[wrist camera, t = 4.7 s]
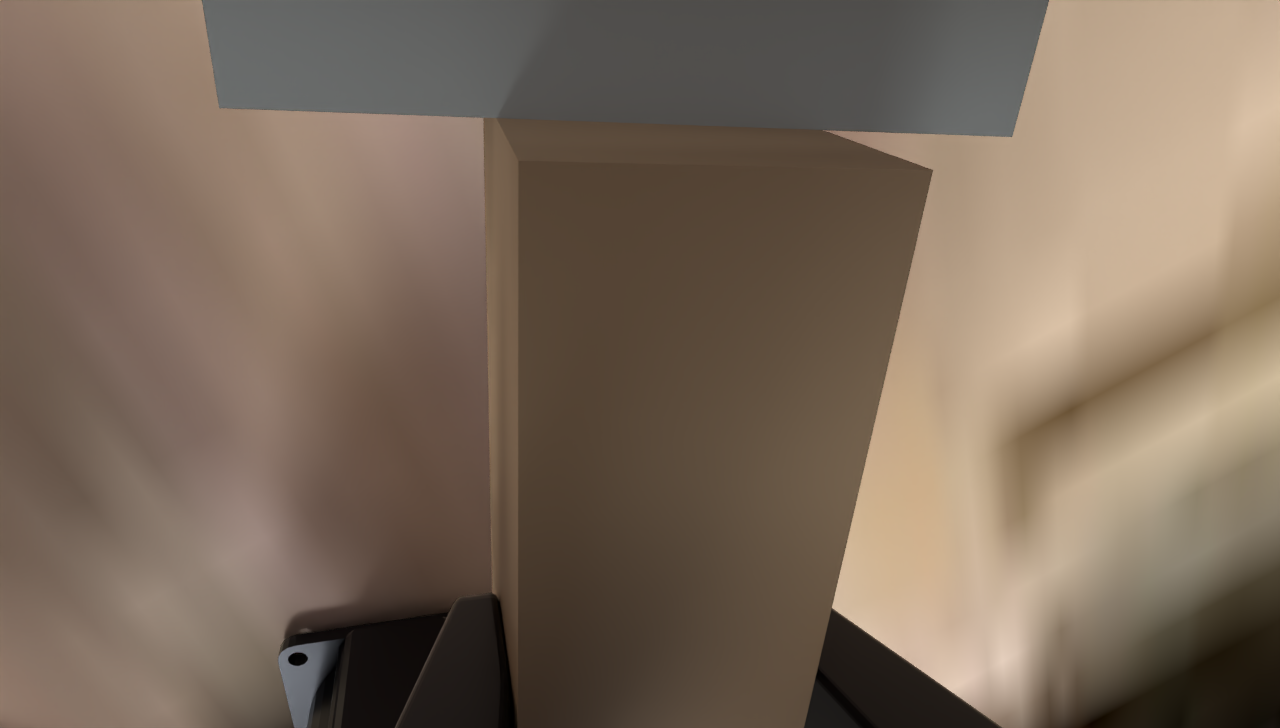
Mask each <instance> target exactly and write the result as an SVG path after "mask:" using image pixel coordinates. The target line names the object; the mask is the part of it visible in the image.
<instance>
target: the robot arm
mask: <svg viewBox="0 0 1280 728" xmlns="http://www.w3.org/2000/svg"><path fill="white" fill-rule="evenodd" d="M296 652H302V653H304V654H302V655H296V654H294V653H296ZM278 663H279V667H280V671H281V676H282V680H283V684H284V688H285V692H286V696H287V700H288V704H289V708H290V712H291V716H292V720H293V724H294V728H510V681H509V671H508V664H507V656H506V649H505V642H504V635H503V628H502V621H501V614H500V606H499V600H498V597H497V596H496V595H495V594H493V593H486V594H477V595H469V596H461V597H459V598H458V599H456V601H455V602H454V604H453V605H452V608H451V610H450V612H449V613H442V614H435V615H428V616H422V617H415V618H408V619H401V620H394V621H387V622H381V623H374V624H367V625H360V626H353V627H347V628H340V629H333V630H326V631H319V632H312V633H306V634H299V635H295V636H291V637H289V638H287V639H286V640H284V642H283V643H282V645H281V648H280V652H279V657H278ZM804 728H1002V727H1001V726H999V725H998V724H996V723H995V722H994V721H992V720H991V719H989V718H988V717H986V716H985V715H984V714H982V713H981V712H979V711H978V710H976V709H975V708H974V707H972V706H971V705H969V704H968V703H966V702H965V701H964V700H962V699H961V698H959V697H958V696H956V695H955V694H954V693H952V692H951V691H949V690H948V689H946V688H945V687H944V686H942V685H941V684H939V683H938V682H936V681H935V680H934V679H932V678H931V677H929V676H928V675H926V674H925V673H924V672H922V671H921V670H919V669H918V668H916V667H915V666H914V665H912V664H911V663H909V662H908V661H907V660H905V659H904V658H902V657H901V656H899V655H898V654H897V653H895V652H894V651H892V650H891V649H889V648H888V647H887V646H885V645H884V644H882V643H881V642H879V641H878V640H877V639H875V638H874V637H872V636H871V635H869V634H868V633H867V632H865V631H864V630H862V629H861V628H859V627H858V626H857V625H855V624H854V623H852V622H851V621H849V620H848V619H847V618H845V617H844V616H842V615H841V614H839V613H838V612H837V611H835V610H834V609H831V613H830V617H829V622H828V626H827V630H826V634H825V639H824V643H823V647H822V652H821V656H820V660H819V665H818V669H817V673H816V678H815V682H814V686H813V691H812V695H811V699H810V704H809V708H808V712H807V717H806V721H805V725H804Z"/></svg>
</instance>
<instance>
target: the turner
mask: <svg viewBox="0 0 1280 728" xmlns="http://www.w3.org/2000/svg"><path fill="white" fill-rule="evenodd" d="M1048 2H1049V0H202V3H203V9H204V15H205V22H206V28H207V34H208V40H209V47H210V53H211V59H212V65H213V72H214V78H215V84H216V90H217V97H218V103H219V108H233V109H260V110H288V111H315V112H342V113H370V114H397V115H425V116H452V117H480V118H483V121H484V176H485V232H486V288H487V343H488V399H489V455H490V510H491V566H492V593H493V594H495V595H496V596H497V597H498V600H499V606H500V614H501V621H502V628H503V635H504V642H505V649H506V656H507V664H508V671H509V681H510V728H804V725H805V721H806V717H807V712H808V708H809V704H810V699H811V695H812V691H813V686H814V682H815V678H816V673H817V669H818V665H819V660H820V656H821V652H822V647H823V643H824V639H825V634H826V630H827V626H828V622H829V617H830V613H831V609H832V604H833V600H834V596H835V591H836V587H837V583H838V578H839V574H840V570H841V565H842V561H843V557H844V552H845V548H846V544H847V539H848V535H849V531H850V526H851V522H852V518H853V513H854V509H855V505H856V500H857V496H858V492H859V487H860V483H861V479H862V474H863V470H864V466H865V462H866V457H867V453H868V449H869V444H870V440H871V436H872V431H873V427H874V423H875V418H876V414H877V410H878V405H879V401H880V397H881V392H882V388H883V384H884V379H885V375H886V371H887V366H888V362H889V358H890V353H891V349H892V345H893V340H894V336H895V332H896V327H897V323H898V319H899V314H900V310H901V306H902V302H903V297H904V293H905V289H906V284H907V280H908V276H909V271H910V267H911V263H912V258H913V254H914V250H915V245H916V241H917V237H918V232H919V228H920V224H921V219H922V215H923V211H924V206H925V202H926V198H927V193H928V189H929V185H930V180H931V176H932V172H933V170H931V169H928V168H925V167H923V166H920V165H917V164H914V163H912V162H909V161H906V160H903V159H900V158H898V157H895V156H892V155H889V154H887V153H884V152H881V151H878V150H876V149H873V148H870V147H867V146H865V145H862V144H859V143H856V142H854V141H851V140H848V139H845V138H843V137H840V136H837V135H834V134H832V133H829V132H826V131H823V130H836V131H864V132H891V133H918V134H946V135H973V136H1001V137H1012V135H1013V132H1014V128H1015V124H1016V120H1017V117H1018V113H1019V109H1020V106H1021V102H1022V98H1023V95H1024V91H1025V87H1026V83H1027V80H1028V76H1029V72H1030V69H1031V65H1032V61H1033V58H1034V54H1035V50H1036V46H1037V43H1038V39H1039V35H1040V32H1041V28H1042V24H1043V21H1044V17H1045V13H1046V9H1047V6H1048Z"/></svg>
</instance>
